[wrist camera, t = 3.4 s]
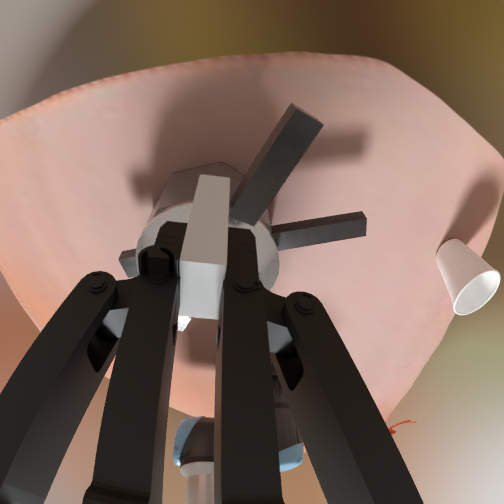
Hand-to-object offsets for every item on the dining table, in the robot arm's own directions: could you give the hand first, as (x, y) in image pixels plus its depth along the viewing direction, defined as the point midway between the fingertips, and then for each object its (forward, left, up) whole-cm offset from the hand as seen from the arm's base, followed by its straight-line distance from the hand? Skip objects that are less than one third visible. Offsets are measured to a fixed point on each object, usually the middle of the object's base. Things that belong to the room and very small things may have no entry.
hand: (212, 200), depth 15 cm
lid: (-6, -8, -12) cm, 16 cm away
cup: (+19, -39, -22) cm, 48 cm away
